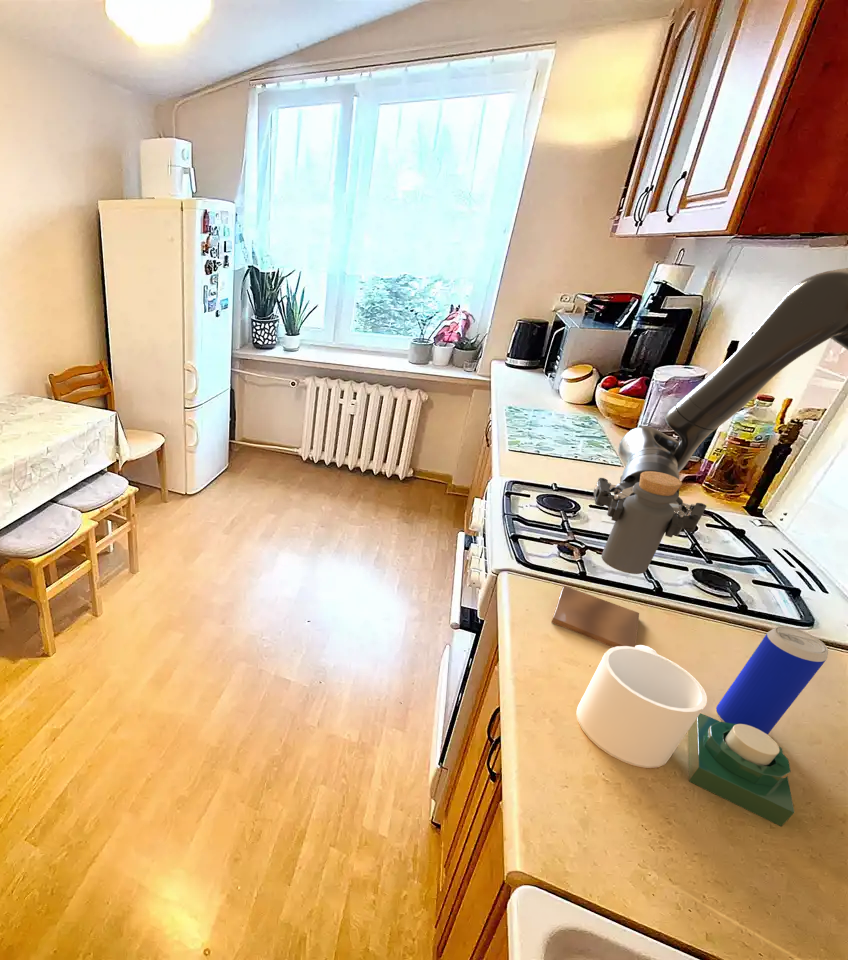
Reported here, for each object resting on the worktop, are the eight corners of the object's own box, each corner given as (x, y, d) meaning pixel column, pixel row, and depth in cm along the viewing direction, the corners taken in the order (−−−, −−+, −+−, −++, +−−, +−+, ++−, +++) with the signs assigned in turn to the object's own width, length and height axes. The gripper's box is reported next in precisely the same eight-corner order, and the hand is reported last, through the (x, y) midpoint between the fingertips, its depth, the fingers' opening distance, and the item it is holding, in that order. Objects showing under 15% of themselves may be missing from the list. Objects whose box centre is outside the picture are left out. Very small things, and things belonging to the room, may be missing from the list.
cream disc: (723, 728, 64) (731, 717, 63) (768, 748, 61) (777, 736, 60) (725, 751, 61) (734, 740, 60) (772, 773, 59) (782, 761, 58)
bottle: (609, 571, 79) (647, 485, 72) (594, 549, 84) (628, 467, 77) (654, 577, 78) (697, 490, 71) (636, 554, 83) (674, 471, 76)
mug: (673, 785, 61) (714, 727, 57) (574, 741, 66) (604, 685, 61) (663, 710, 71) (697, 655, 66) (576, 677, 76) (602, 623, 71)
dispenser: (687, 725, 69) (703, 701, 67) (770, 761, 64) (790, 738, 62) (688, 781, 62) (706, 757, 60) (781, 827, 57) (803, 802, 55)
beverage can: (759, 717, 70) (821, 634, 63) (771, 747, 66) (839, 662, 59) (709, 700, 72) (765, 618, 65) (719, 728, 68) (779, 644, 61)
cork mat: (637, 617, 87) (639, 612, 87) (632, 655, 80) (635, 650, 79) (561, 589, 93) (563, 585, 93) (551, 622, 86) (553, 617, 85)
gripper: (606, 450, 89) (594, 485, 78) (716, 475, 81) (721, 518, 70) (590, 488, 93) (576, 527, 81) (694, 516, 85) (695, 563, 73)
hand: (643, 523), depth 75 cm, fingers closed on bottle, 6 cm apart
